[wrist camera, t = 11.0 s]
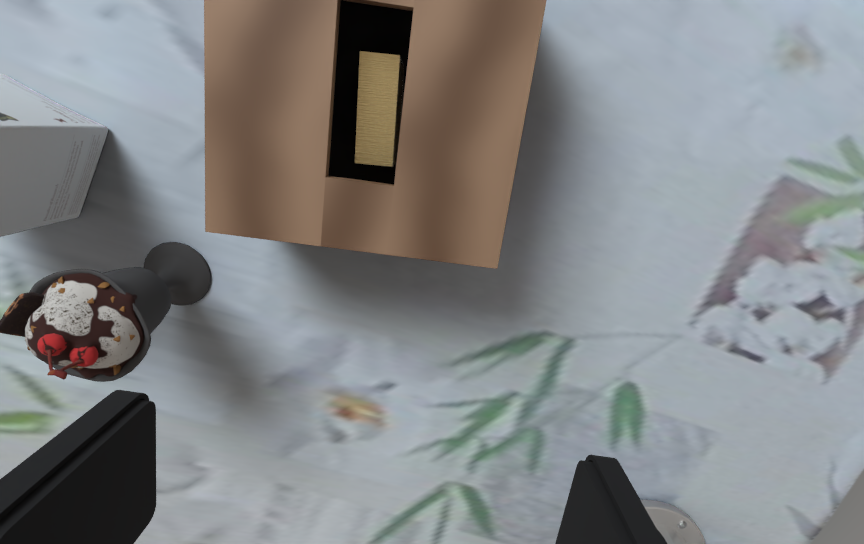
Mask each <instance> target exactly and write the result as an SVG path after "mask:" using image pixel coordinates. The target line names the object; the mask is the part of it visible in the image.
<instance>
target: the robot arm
mask: <svg viewBox="0 0 864 544" xmlns="http://www.w3.org/2000/svg"><path fill="white" fill-rule="evenodd" d="M155 507H156V408H155V404H154V402H151V401H149V398H148V396H147V395H146V394H145V393H137V392H130V391H123V390H116V391H114V392H112V393H111V394H110V395H108V396H107V397H106V398H104V399H103V400H102V401H101V402H99V403H98V404H97V405H95V406H94V407H93V408H92V409H90V410H89V411H88V412H86V413H85V414H84V415H83V416H81V417H80V418H79V419H77V420H76V421H75V422H74V423H72V424H71V425H70V426H68V427H67V428H66V429H65V430H63V431H62V432H61V433H59V434H58V435H57V436H56V437H54V438H53V439H52V440H50V441H49V442H48V443H47V444H45V445H44V446H43V447H41V448H40V449H39V450H38V451H36V452H35V453H34V454H32V455H31V456H30V457H29V458H27V459H26V460H25V461H23V462H22V463H21V464H20V465H18V466H17V467H16V468H14V469H13V470H12V471H11V472H9V473H8V474H7V475H5V476H4V477H3V478H1V479H0V544H134V542H135V541H136V540H137V538H138V537H139V536H140V534H141V533H142V532H143V530H144V529H145V528H146V526H147V525H148V524H149V522H150V521H151V519H152V517H153V514H154V511H155ZM556 544H706V543H705V540H704V537H703V535H702V533H701V532H700V530H699V528H698V527H697V525H696V524H695V523H694V521H693V520H692V519H691V518H690V516H688V515H687V514H686V513H684V512H683V511H682V510H681V509H679V508H676V507H674V506H672V505H670V504H667V503H663V502H660V501H653V500H640V498H639V497H638V495H637V493H636V491H635V490H634V488H633V486H632V484H631V483H630V481H629V479H628V477H627V476H626V474H625V472H624V470H623V469H622V467H621V465H620V463H619V462H618V461H617V459H615V458H610V457H603V456H595V455H589V456H588V457H587V458H586V460H585V461H582V460H581V461H579V462H578V464H577V467H576V471H575V475H574V478H573V482H572V486H571V489H570V493H569V496H568V500H567V504H566V507H565V511H564V515H563V518H562V522H561V526H560V529H559V533H558V536H557V540H556Z"/></svg>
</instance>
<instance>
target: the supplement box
mask: <svg viewBox="0 0 864 544" xmlns="http://www.w3.org/2000/svg"><path fill="white" fill-rule="evenodd" d="M107 133H108V128H107V127H106V126H104V125H102V124H99V123H97V122H95V121H93V120H91V119H89V118H87V117H84V116H82V115H80V114H78V113H76V112H74V111H72V110H70V109H68V108H66V107H64V106H62V105H60V104H58V103H57V102H55V101H53V100H51V99H49V98H47V97H45V96H43V95H41V94H39V93H38V92H36V91H34V90H32V89H30V88H28V87H26V86H25V85H23V84H21V83H19V82H17V81H16V80H14V79H12V78H10V77H9V76H7V75H4V74H0V237H1V236H5V235H9V234H13V233H17V232H21V231H25V230H29V229H33V228H37V227H41V226H45V225H49V224H53V223H57V222H61V221H65V220H69V219H73V218H78V217H79V215H80V212H81V210H82V207H83V204H84V201H85V198H86V195H87V192H88V189H89V187H90V184H91V181H92V178H93V175H94V172H95V169H96V166H97V163H98V160H99V158H100V155H101V152H102V148H103V145H104V143H105V140H106V136H107Z"/></svg>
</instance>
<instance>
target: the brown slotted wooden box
mask: <svg viewBox="0 0 864 544" xmlns="http://www.w3.org/2000/svg"><path fill="white" fill-rule="evenodd" d="M343 1H350V2H357V3H363V4H370V5H376V6H383V7H389V8H396V9H402V10H409V11H413V17H412V27H411V36H410V45H409V54H408V63H407V72H406V81H405V90H404V99H403V108H402V117H401V126H400V135H399V144H398V153H397V162H396V171H395V181H394V184H386V183H379V182H371V181H364V180H356V179H349V178H342V177H334V176H328V175H329V160H330V146H331V132H332V117H333V103H334V89H335V74H336V60H337V46H338V31H339V17H340V3H341V0H204V46H205V232H212V233H220V234H228V235H236V236H244V237H251V238H259V239H267V240H275V241H283V242H291V243H299V244H306V245H314V246H322V247H330V248H338V249H346V250H354V251H362V252H369V253H377V254H385V255H393V256H401V257H409V258H417V259H425V260H432V261H440V262H448V263H456V264H464V265H472V266H480V267H487V268H495V269H497V268H498V262H499V257H500V251H501V246H502V240H503V235H504V229H505V224H506V218H507V213H508V207H509V202H510V196H511V191H512V186H513V180H514V175H515V169H516V164H517V158H518V153H519V147H520V142H521V136H522V131H523V125H524V120H525V115H526V109H527V104H528V98H529V93H530V87H531V82H532V76H533V71H534V65H535V60H536V54H537V49H538V43H539V38H540V33H541V27H542V22H543V16H544V11H545V5H546V0H343Z"/></svg>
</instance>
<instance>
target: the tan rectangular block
mask: <svg viewBox="0 0 864 544" xmlns="http://www.w3.org/2000/svg"><path fill="white" fill-rule="evenodd" d="M403 82H404V65H403V62H402V59H401V57H400V55H393V54H383V53H374V52H364V51H360V57H359V79H358V101H357V123H356V145H355V163H359V164H369V165H380V166H390V167H393V165H394V164H395V163H396V162H397V153H398V144H399V135H400V124H401V110H402V96H403Z"/></svg>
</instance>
